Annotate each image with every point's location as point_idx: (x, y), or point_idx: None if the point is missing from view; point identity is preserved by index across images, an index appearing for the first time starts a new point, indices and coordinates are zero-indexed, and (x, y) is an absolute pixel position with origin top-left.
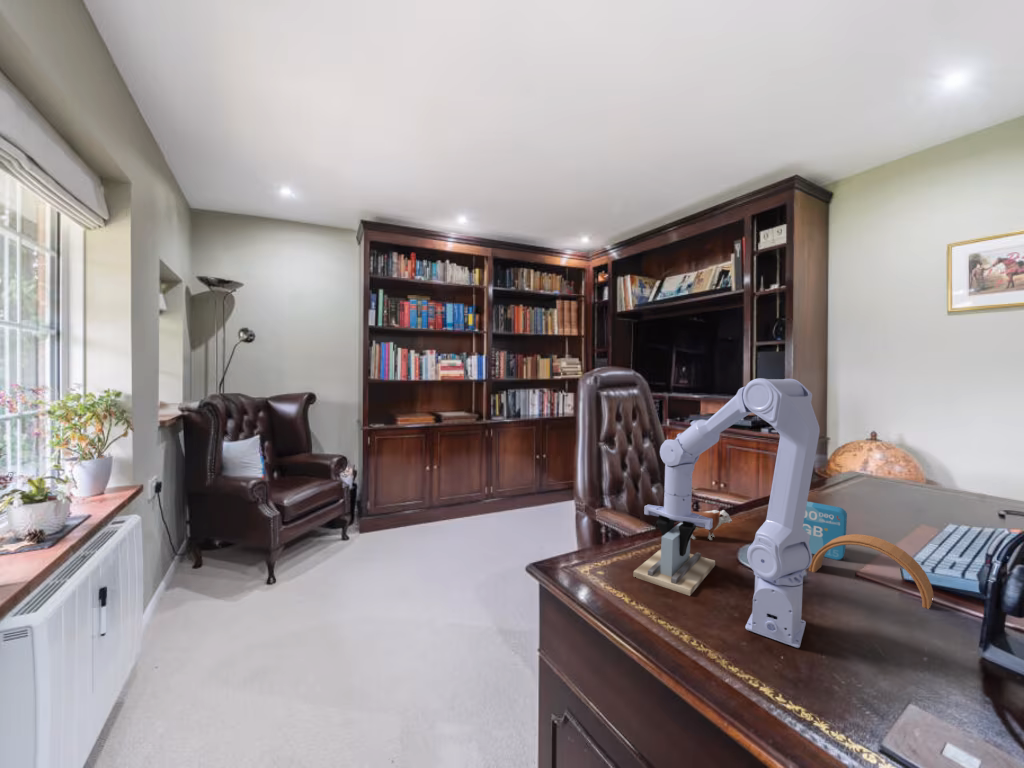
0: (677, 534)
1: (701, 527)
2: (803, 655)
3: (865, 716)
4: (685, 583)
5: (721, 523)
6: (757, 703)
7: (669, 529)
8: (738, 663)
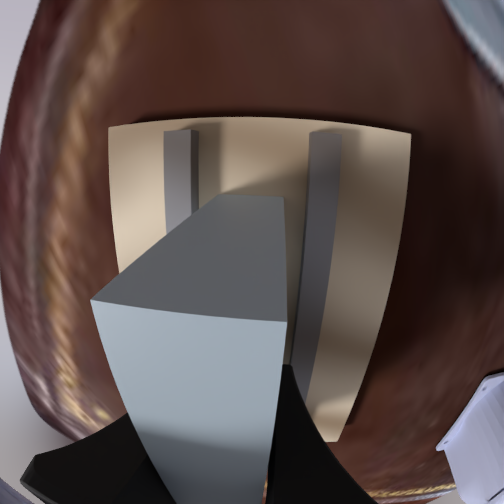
0: None
1: None
2: None
3: None
4: (319, 424)
5: None
6: (405, 501)
7: (167, 501)
8: (402, 487)
